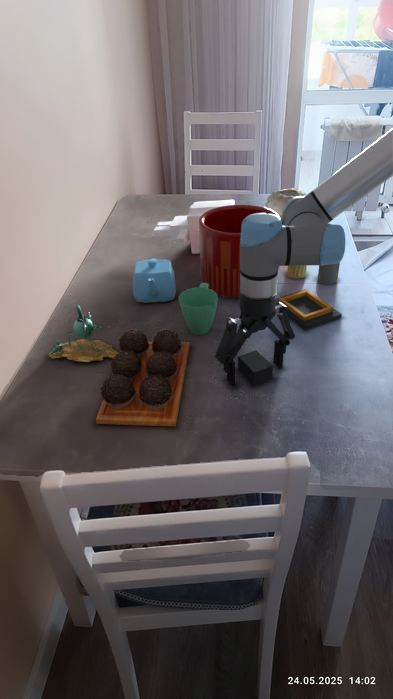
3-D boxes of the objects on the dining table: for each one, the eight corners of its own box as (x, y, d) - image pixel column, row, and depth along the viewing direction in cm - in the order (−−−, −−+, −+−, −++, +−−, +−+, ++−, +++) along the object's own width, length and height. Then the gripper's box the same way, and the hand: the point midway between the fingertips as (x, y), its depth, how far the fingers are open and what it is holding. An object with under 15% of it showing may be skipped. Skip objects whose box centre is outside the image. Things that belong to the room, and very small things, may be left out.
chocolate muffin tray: (176, 427, 98) (173, 396, 93) (96, 424, 100) (89, 394, 95) (189, 347, 121) (187, 318, 116) (124, 346, 122) (120, 318, 117)
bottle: (314, 281, 146) (319, 234, 137) (322, 273, 150) (327, 227, 141) (332, 286, 143) (339, 238, 134) (340, 278, 147) (347, 231, 138)
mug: (215, 341, 122) (214, 307, 116) (177, 338, 124) (174, 305, 118) (223, 311, 134) (223, 279, 128) (188, 309, 136) (186, 277, 130)
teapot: (132, 315, 134) (127, 278, 128) (136, 284, 149) (132, 250, 142) (176, 313, 134) (173, 276, 128) (176, 282, 149) (174, 248, 142)
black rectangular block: (272, 379, 109) (273, 365, 107) (253, 386, 108) (254, 372, 105) (255, 363, 114) (256, 349, 112) (237, 369, 113) (237, 356, 110)
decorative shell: (317, 222, 183) (320, 196, 177) (273, 228, 181) (274, 202, 175) (299, 207, 198) (301, 182, 192) (258, 212, 195) (259, 187, 189)
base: (341, 317, 129) (342, 310, 128) (305, 330, 125) (305, 322, 123) (304, 292, 141) (305, 285, 139) (270, 303, 137) (270, 296, 135)
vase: (282, 274, 150) (285, 231, 142) (294, 268, 154) (298, 225, 145) (298, 281, 147) (302, 236, 138) (310, 274, 150) (315, 230, 141)
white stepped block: (167, 235, 184) (240, 231, 178) (151, 263, 165) (232, 261, 159) (161, 196, 176) (237, 192, 170) (143, 222, 156) (229, 217, 150)
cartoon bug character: (59, 340, 126) (53, 290, 117) (125, 351, 124) (124, 301, 115) (43, 361, 118) (35, 310, 109) (113, 374, 116) (111, 322, 108)
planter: (251, 259, 160) (253, 199, 148) (291, 288, 143) (297, 223, 131) (188, 275, 152) (185, 213, 140) (222, 308, 135) (222, 240, 123)
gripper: (295, 270, 105) (288, 349, 118) (196, 298, 97) (200, 381, 109) (317, 284, 100) (307, 366, 112) (214, 315, 91) (216, 400, 104)
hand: (254, 373), depth 111 cm, fingers open, 12 cm apart
